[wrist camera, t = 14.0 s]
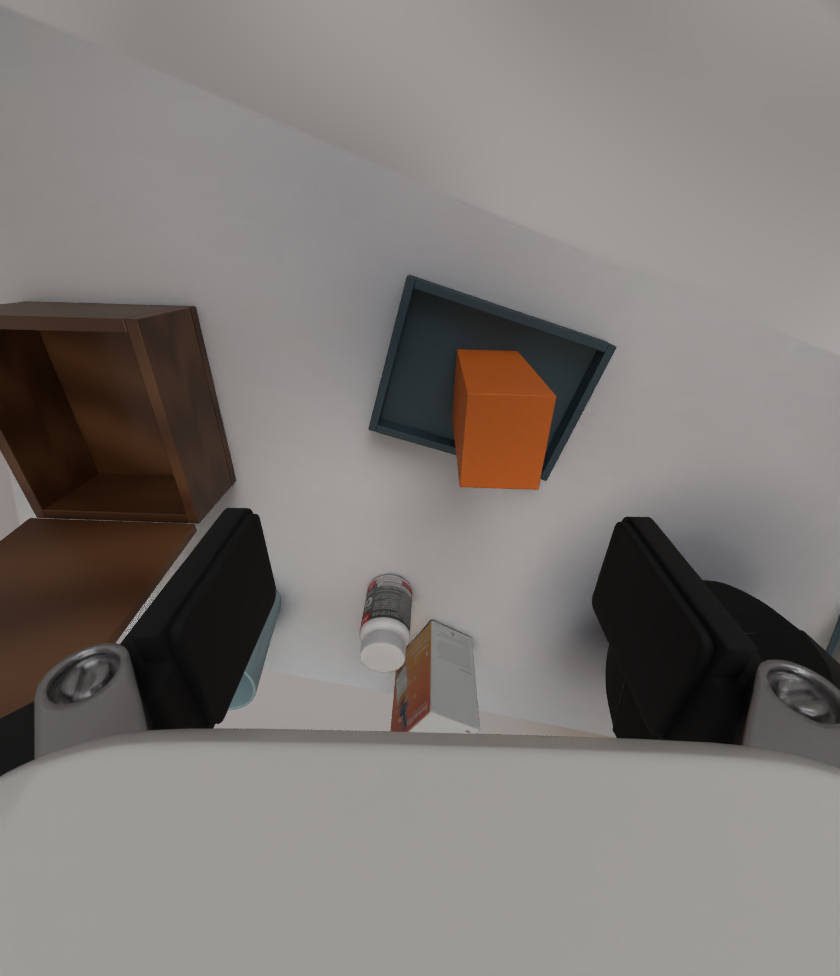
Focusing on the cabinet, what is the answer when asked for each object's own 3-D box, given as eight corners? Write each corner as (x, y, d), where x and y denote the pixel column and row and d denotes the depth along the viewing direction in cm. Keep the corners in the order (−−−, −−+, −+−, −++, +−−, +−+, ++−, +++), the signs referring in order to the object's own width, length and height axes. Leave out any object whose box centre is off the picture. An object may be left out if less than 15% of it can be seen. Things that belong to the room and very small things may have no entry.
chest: (25, 301, 30) (-75, 313, 24) (195, 306, 30) (136, 319, 24) (99, 476, 37) (36, 518, 31) (236, 480, 37) (199, 524, 31)
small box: (431, 617, 45) (431, 710, 36) (472, 637, 46) (482, 730, 37) (395, 657, 49) (386, 750, 39) (434, 673, 50) (435, 767, 41)
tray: (371, 420, 34) (368, 429, 32) (408, 274, 28) (407, 276, 26) (540, 469, 36) (546, 481, 34) (605, 341, 30) (617, 346, 28)
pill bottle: (366, 573, 42) (352, 639, 35) (412, 573, 42) (407, 640, 35) (369, 606, 44) (357, 674, 37) (413, 606, 44) (409, 675, 37)
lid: (-253, 736, 18) (-161, 782, 21) (26, 748, 18) (79, 793, 21) (29, 517, 31) (62, 565, 34) (195, 523, 31) (213, 571, 33)
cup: (245, 557, 41) (193, 642, 32) (305, 597, 44) (272, 686, 35) (207, 594, 44) (149, 682, 35) (265, 630, 47) (225, 720, 38)
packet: (456, 349, 30) (467, 393, 21) (517, 350, 30) (557, 396, 20) (452, 419, 33) (459, 487, 23) (508, 421, 33) (538, 490, 23)
